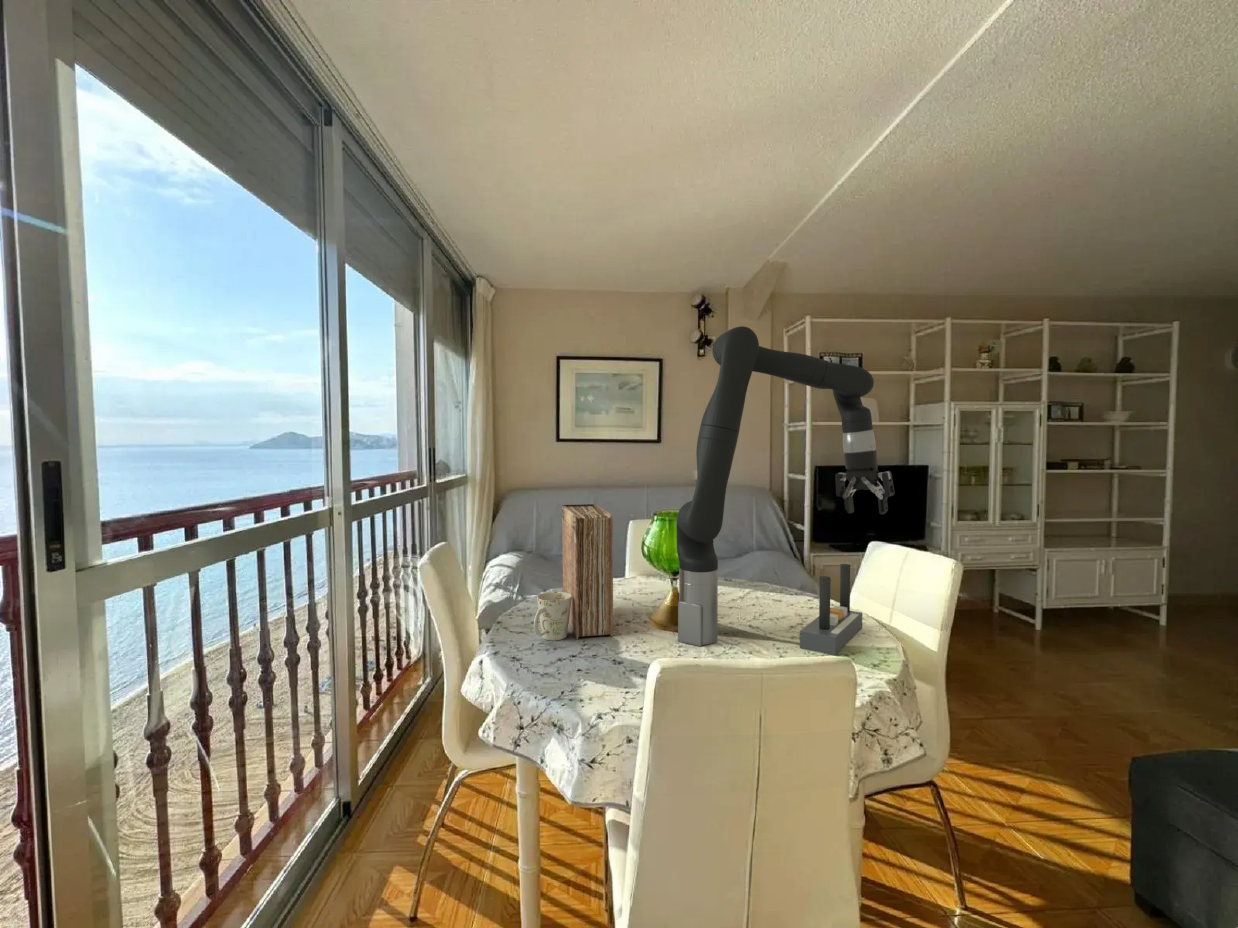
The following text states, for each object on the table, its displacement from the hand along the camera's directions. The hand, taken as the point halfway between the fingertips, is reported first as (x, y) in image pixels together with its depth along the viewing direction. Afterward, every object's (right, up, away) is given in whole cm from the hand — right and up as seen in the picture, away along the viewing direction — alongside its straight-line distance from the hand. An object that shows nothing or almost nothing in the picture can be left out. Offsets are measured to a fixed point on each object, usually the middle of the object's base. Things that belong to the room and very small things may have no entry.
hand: (866, 513), depth 149 cm
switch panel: (-10, -30, -5) cm, 32 cm away
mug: (-79, -30, -5) cm, 85 cm away
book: (-71, -30, +7) cm, 77 cm away
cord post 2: (-4, -26, +4) cm, 26 cm away
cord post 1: (-14, -26, -10) cm, 31 cm away
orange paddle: (-9, -26, -3) cm, 27 cm away
